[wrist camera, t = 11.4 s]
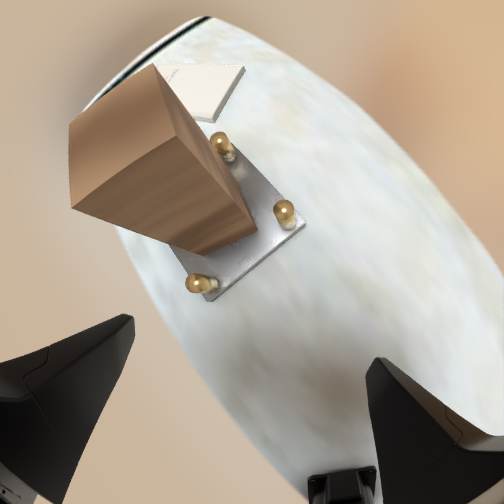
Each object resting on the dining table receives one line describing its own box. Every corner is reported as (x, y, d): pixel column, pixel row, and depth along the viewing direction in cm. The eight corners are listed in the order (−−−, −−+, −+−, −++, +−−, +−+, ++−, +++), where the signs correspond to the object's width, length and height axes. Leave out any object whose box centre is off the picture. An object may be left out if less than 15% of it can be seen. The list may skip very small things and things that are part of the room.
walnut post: (258, 230, 21) (176, 135, 8) (203, 256, 22) (71, 208, 9) (235, 178, 23) (152, 63, 9) (184, 204, 23) (69, 124, 10)
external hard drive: (216, 126, 26) (134, 115, 29) (246, 73, 26) (165, 69, 29) (211, 117, 24) (127, 108, 27) (243, 64, 25) (160, 62, 28)
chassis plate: (305, 225, 22) (304, 210, 18) (211, 301, 22) (191, 302, 19) (233, 147, 24) (221, 124, 20) (154, 216, 25) (130, 204, 21)
